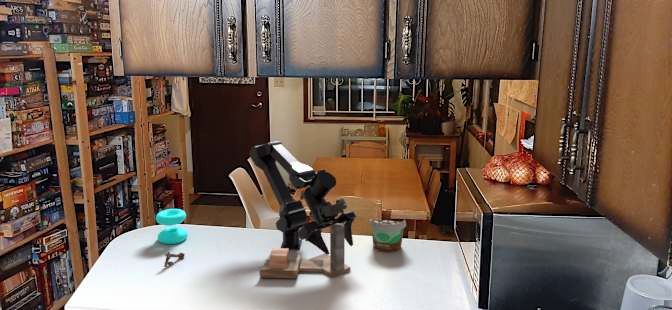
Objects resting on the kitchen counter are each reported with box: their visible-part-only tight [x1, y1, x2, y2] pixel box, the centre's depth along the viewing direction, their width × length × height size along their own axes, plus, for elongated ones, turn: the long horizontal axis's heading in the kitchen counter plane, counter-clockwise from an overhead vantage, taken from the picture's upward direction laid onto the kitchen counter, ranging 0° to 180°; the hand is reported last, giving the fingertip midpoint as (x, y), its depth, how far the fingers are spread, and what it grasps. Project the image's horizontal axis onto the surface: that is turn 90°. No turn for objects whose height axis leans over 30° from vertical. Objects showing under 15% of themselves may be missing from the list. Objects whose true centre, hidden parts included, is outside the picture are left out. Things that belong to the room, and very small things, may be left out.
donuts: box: [155, 208, 189, 245], centre depth 175 cm, size 10×10×10 cm
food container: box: [368, 218, 407, 253], centre depth 166 cm, size 12×6×10 cm, turn 80°
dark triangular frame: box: [163, 251, 186, 268], centre depth 158 cm, size 2×8×4 cm, turn 157°
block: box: [269, 247, 290, 269], centre depth 152 cm, size 5×5×5 cm
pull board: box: [258, 223, 352, 279], centre depth 152 cm, size 21×24×15 cm
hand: (340, 249), depth 150 cm, fingers open, 9 cm apart
